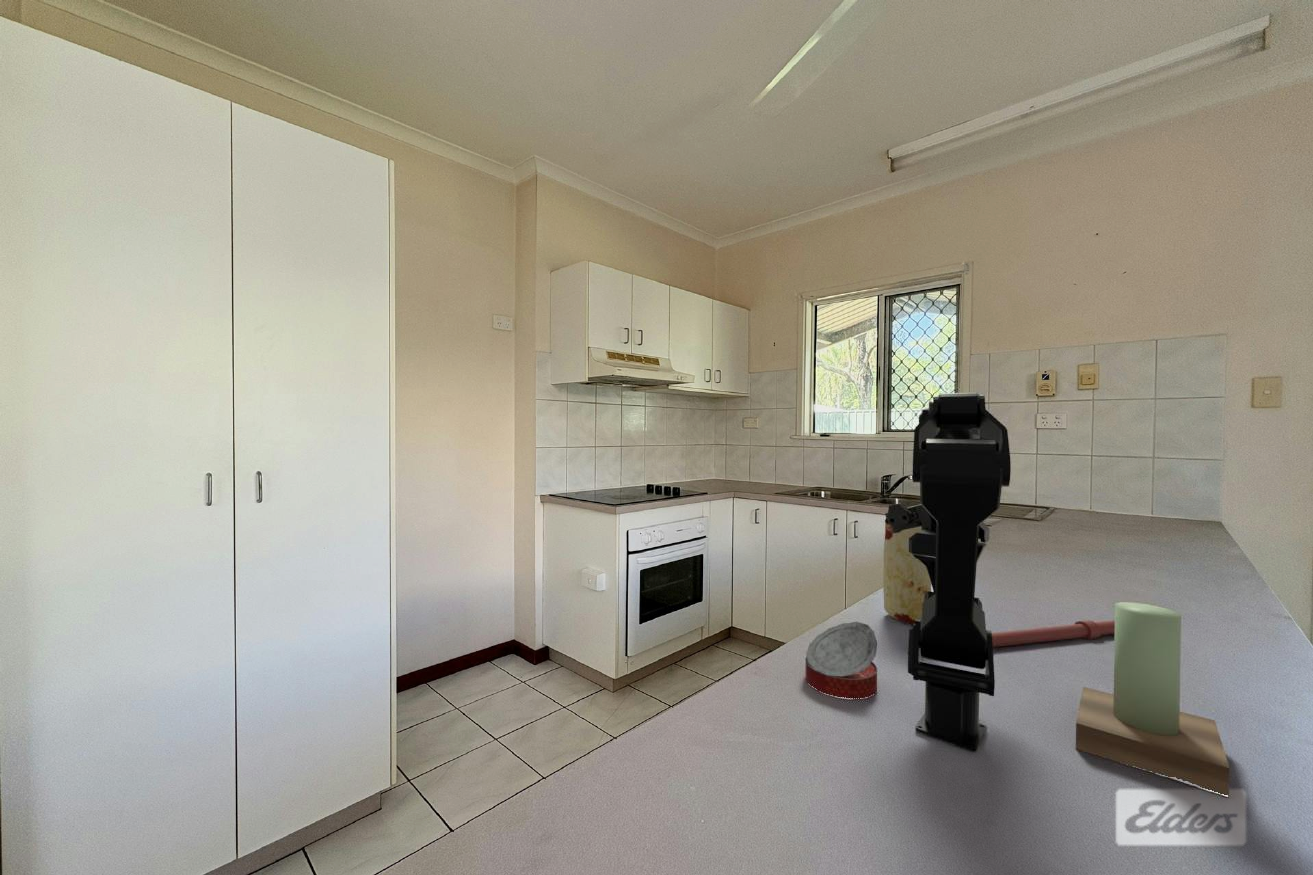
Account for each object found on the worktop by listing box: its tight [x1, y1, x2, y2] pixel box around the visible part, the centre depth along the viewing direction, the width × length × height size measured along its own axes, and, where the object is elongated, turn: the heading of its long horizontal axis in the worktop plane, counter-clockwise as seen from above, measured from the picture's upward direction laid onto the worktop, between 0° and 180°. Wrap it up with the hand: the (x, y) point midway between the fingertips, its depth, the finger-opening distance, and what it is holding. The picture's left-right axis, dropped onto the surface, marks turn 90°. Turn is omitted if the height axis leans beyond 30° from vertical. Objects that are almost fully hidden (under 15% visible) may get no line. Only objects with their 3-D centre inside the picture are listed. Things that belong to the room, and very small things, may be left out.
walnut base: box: [1075, 686, 1231, 797], centre depth 61 cm, size 12×12×3 cm
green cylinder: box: [1113, 601, 1182, 735], centre depth 61 cm, size 6×6×13 cm
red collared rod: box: [992, 619, 1115, 648], centre depth 94 cm, size 45×3×3 cm, turn 104°
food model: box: [882, 522, 932, 626], centre depth 102 cm, size 10×7×20 cm
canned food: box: [804, 621, 878, 699], centre depth 76 cm, size 11×10×10 cm
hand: (950, 597), depth 75 cm, fingers open, 9 cm apart
